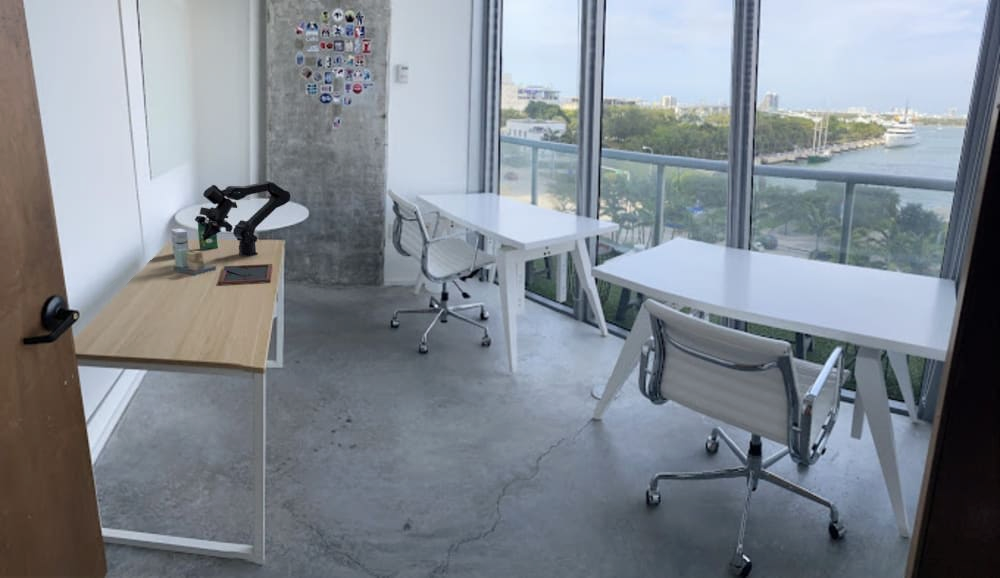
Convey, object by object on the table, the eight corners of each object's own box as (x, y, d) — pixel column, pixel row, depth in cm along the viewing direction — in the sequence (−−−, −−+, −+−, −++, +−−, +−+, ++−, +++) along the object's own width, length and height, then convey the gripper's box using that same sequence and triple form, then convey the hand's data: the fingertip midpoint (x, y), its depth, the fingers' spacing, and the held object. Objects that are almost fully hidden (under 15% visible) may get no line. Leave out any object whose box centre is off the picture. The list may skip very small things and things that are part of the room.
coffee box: (217, 246, 354) (215, 220, 351) (218, 248, 352) (215, 221, 348) (199, 248, 351) (196, 221, 347) (200, 249, 348) (197, 222, 345)
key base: (194, 264, 323) (194, 261, 323) (215, 269, 316) (215, 266, 316) (173, 270, 315) (173, 266, 314) (194, 275, 308) (194, 271, 307)
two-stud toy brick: (184, 263, 318) (183, 247, 316) (191, 265, 316) (189, 249, 314) (175, 266, 314) (173, 249, 312) (182, 267, 312) (180, 251, 310)
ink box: (190, 256, 337) (187, 231, 334) (178, 257, 334) (175, 232, 331) (184, 252, 343) (181, 227, 340) (173, 254, 340) (170, 229, 337)
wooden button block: (196, 266, 314) (195, 250, 312) (203, 268, 312) (202, 251, 310) (187, 268, 310) (185, 252, 308) (194, 270, 308) (192, 253, 306)
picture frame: (224, 270, 318) (218, 286, 295) (223, 265, 318) (218, 281, 295) (272, 267, 323) (270, 283, 300) (272, 263, 323) (270, 278, 300)
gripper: (195, 197, 325) (177, 226, 320) (224, 202, 316) (205, 232, 310) (212, 212, 334) (194, 240, 328) (240, 216, 325) (222, 246, 319)
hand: (203, 239), depth 321 cm, fingers closed
